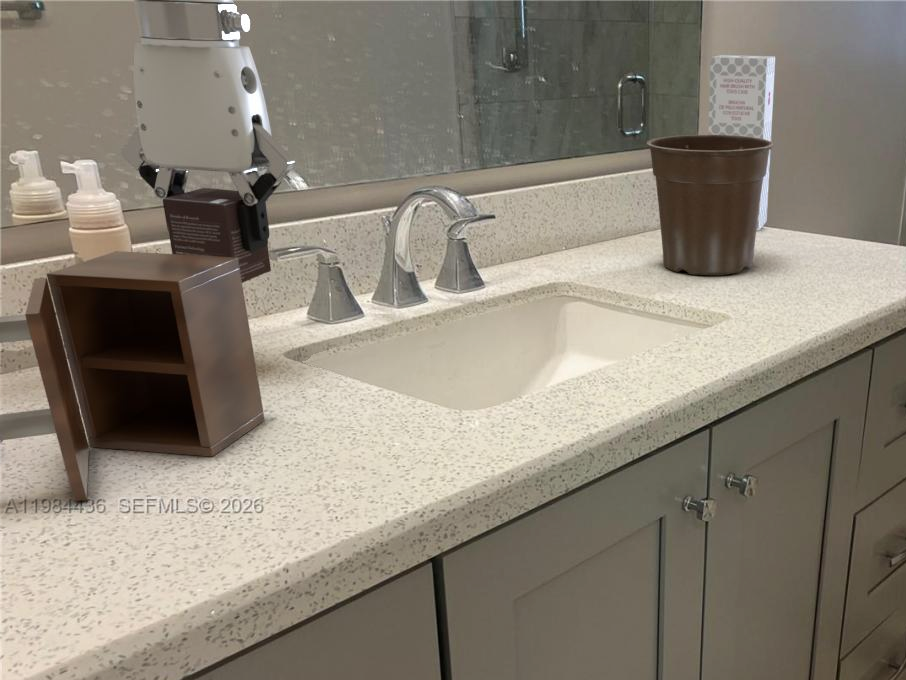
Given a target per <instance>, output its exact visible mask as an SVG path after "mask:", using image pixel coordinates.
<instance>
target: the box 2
mask: <svg viewBox="0 0 906 680" xmlns="http://www.w3.org/2000/svg"><path fill="white" fill-rule="evenodd" d="M709 65H710V67H709V101H708V102H709V103H708V106H709V107H708V108H709V109H708V134H707V135H734V136H747V137H753V138H760V139H764V140H768V141H771V142H772V129H773V128H772V127H773V109H774V108H773V107H774V90H775V73H776V72H775V70H776V56H774V55H773V56H771V55H739V54H734V55H733V54H720V55H715V56H711V57H710V64H709ZM770 166H771V149H770V150H769V156H768V163H767V170H766V175H765V176H764V177H763V182H762V190H761V198H760V205H759V213H758V221H757V229H756V232H759V231H760V230H761V228H763V226H764V225H765V224H766V223H767V222H768V205H769V204H768V203H769V185H770Z"/></svg>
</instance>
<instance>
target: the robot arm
mask: <svg viewBox="0 0 906 680" xmlns="http://www.w3.org/2000/svg"><path fill="white" fill-rule="evenodd" d="M133 4H134V10H135V16H136V22H137V27H138V33H139V39H140V42H135V43H134V51H133V52H134V53H133V85H134V86H133V87H134V89H133V90H134V99H135V101H134V102H135V108H136V109H135V110H136V111H135V112H136V119H137V128H136V130H134V131H135V132H134V133H133V134H132V135H131V137H130V138H129V139H128V140H127V142H126V143H125V145H124V146H123V147H122V148H121V152H120V153H121V156H122V157H123V158H124V160H125V161H126V162H127V163H129V164H130V166H131V167H133V169H135V170H136V171H138V173H139V175H140V177H141V178H142V179H143V180H144V181H145V182H146V183H147V184H148V185H149V186H150V187H151V188H152V189H153V193H154V196H155V197H156V198H157V199H158V200H162V205H163V211H164V216H165V217H164V218H165V222H166V223H165V224H166V229H167V232H169V230H168V224H167V217H166V209H165V204H164V200H163V198H165V197H170V196H174V195H178V194H182V193H186V186H187V182H188V178H189V174H190V170H192V171H193V170H194V171H207V172H220V173H221V172H222V173H223V172H224V173H229V176H230V178H231V180H232V182H233V184H234V186H235V188H236V191H238V192H239V194H240V196H241V198H242V200H243V205H239V207H238V215H239V222H240V229H241V236H242V243H243V249H244V250H246V251H250V252H253V251H255V250H258V249H261V248H263V247H266V246H267V245H268V246H269V238H270V226H269V225H270V224H269V218H268V217H269V216H268V209H267V202H268V201H270V200H271V197H272V195H273V193H274V192H275V191H276V190H277V189H278V187H280V185H282V182H283V180H284V179H285V178H286V177H287V176H288V174H290V172H291V171H292V170H293V168H294V167H295V164H296V161H295V159H294V158H293V157H292V155H290V153H288V152H287V151H286V149H285V148H284V147H283V146H282V145H281V144H280V143H279V142H278V141H277V140H276V139H275V138H274V137H273V136H272V129H271V122H270V119H269V118H270V117H269V114H268V108H267V103H266V99H265V95H264V90H263V87H262V83H261V79H260V76H259V72H258V69H257V67H256V63H255V60H254V57H253V54H252V52H251V48H250V46H246V45H245V46H244V45H240V39H241V35H240V33H242V32H249V31H250V30H251V21H250V18H249V16H248V15H247V14H246V13H239V12H238V11H237V6H236V4H234V0H133ZM267 165H268V167H267V168H266V170H265V172H264V173H262V172H261V169H260V168H259V167H264V166H267Z"/></svg>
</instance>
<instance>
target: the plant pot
mask: <svg viewBox="0 0 906 680" xmlns="http://www.w3.org/2000/svg"><path fill="white" fill-rule="evenodd" d="M646 147H647V148H648V149H649V151H650V157H651V158H650V159H651V167H652V174H653V176H654V178H655V185H656V194H657V202H658V203H657V204H658V214H659V215H658V216H659V221H660V222H659V224H660V235H661V236H660V237H661V247H662V261H663V265H664V267H665V268H667V269H668V270H670V271H672V272H676V273H678V272H682V271H685V272H687V274H688V275H697V276H699V275H700V276H710V277H711V276H725V275H731V274H738V273H741V272H742V270H749V269H751V268H752V267H753V264H754V263H753V262H754V254H755V253H754V252H755V244H756V237H757V231H756V229H757V221H758V213H759V205H760V198H761V190H762V182H763V177H764V176H765V175H766V170H767V163H768V156H769V150H770V151H771V150H772V149H773V147H774V142H772V140H771V141H768V140H764V139H760V138H753V137H747V136H734V135H708V134H681V135H671V136H662V137H656V138H652V139H650V140H647V142H646Z"/></svg>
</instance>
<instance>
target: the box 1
mask: <svg viewBox="0 0 906 680" xmlns="http://www.w3.org/2000/svg"><path fill="white" fill-rule="evenodd" d="M163 200H164V204H165V209H166V217H167V223H166V225H167V224H168V229H167V231H168V230H169V231H168V236H169V242H170V248H171V254H181V255H199V256H218V257H237V258H238V262H239V268H240V274H241V280H242V284H243V283H246V282H248V281H250V280H253V279H255V278H256V277H260V276H262V275H264V274H267V273H270V272H272V267H271V259H270V251H269V244H268V245H267V246H266V247H263V248H261V249H258V250H255V251H253V252H250V251H246V250H244V249H243V243H242V236H241V229H240V222H239V215H238V207H239V205H243V200H242V198H241V196H240V194H239V192H238V190H233V189H220V188H211V187H209V188H208V187H202V188H199V189H195V190H190V191H185V193H182V194H178V195H174V196H170V197H165V198H163V199H162V201H163ZM166 217H165V218H166Z"/></svg>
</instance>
